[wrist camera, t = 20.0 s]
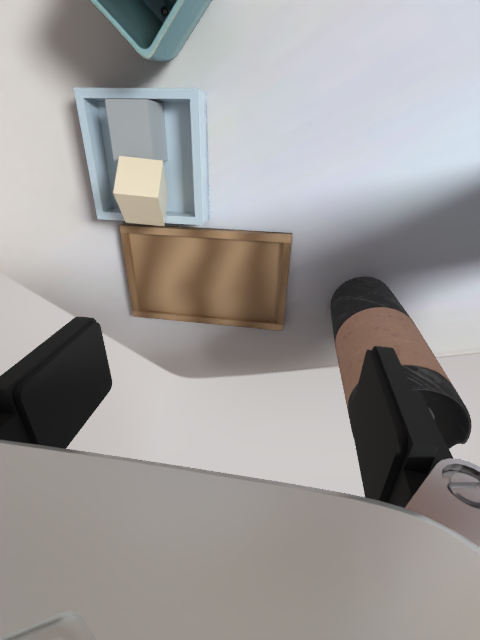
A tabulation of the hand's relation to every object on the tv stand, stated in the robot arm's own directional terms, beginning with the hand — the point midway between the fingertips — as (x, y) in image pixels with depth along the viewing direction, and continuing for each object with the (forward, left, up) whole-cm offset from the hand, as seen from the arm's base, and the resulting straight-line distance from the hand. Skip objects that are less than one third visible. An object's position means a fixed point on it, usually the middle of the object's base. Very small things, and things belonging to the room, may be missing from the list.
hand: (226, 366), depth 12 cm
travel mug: (-11, +10, -28) cm, 32 cm away
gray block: (+14, -10, -26) cm, 31 cm away
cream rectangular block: (+14, 0, -25) cm, 29 cm away
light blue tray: (+14, -5, -28) cm, 32 cm away
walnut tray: (+8, +8, -28) cm, 30 cm away
